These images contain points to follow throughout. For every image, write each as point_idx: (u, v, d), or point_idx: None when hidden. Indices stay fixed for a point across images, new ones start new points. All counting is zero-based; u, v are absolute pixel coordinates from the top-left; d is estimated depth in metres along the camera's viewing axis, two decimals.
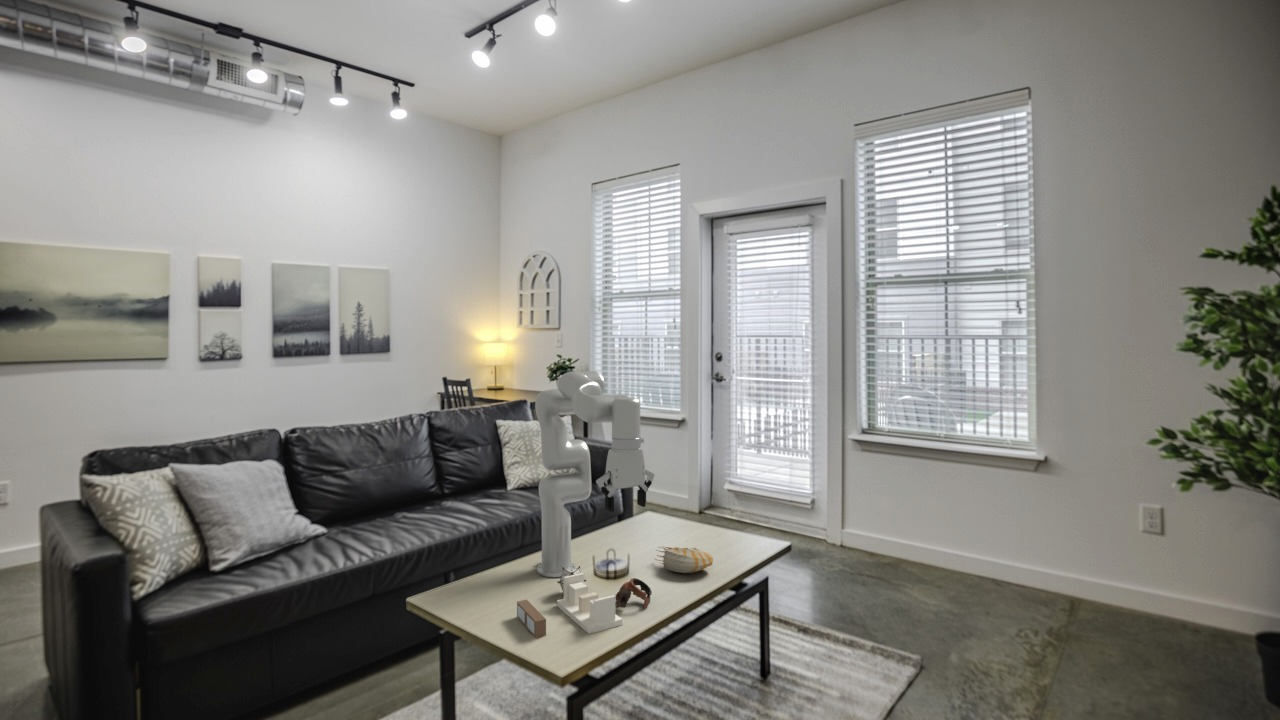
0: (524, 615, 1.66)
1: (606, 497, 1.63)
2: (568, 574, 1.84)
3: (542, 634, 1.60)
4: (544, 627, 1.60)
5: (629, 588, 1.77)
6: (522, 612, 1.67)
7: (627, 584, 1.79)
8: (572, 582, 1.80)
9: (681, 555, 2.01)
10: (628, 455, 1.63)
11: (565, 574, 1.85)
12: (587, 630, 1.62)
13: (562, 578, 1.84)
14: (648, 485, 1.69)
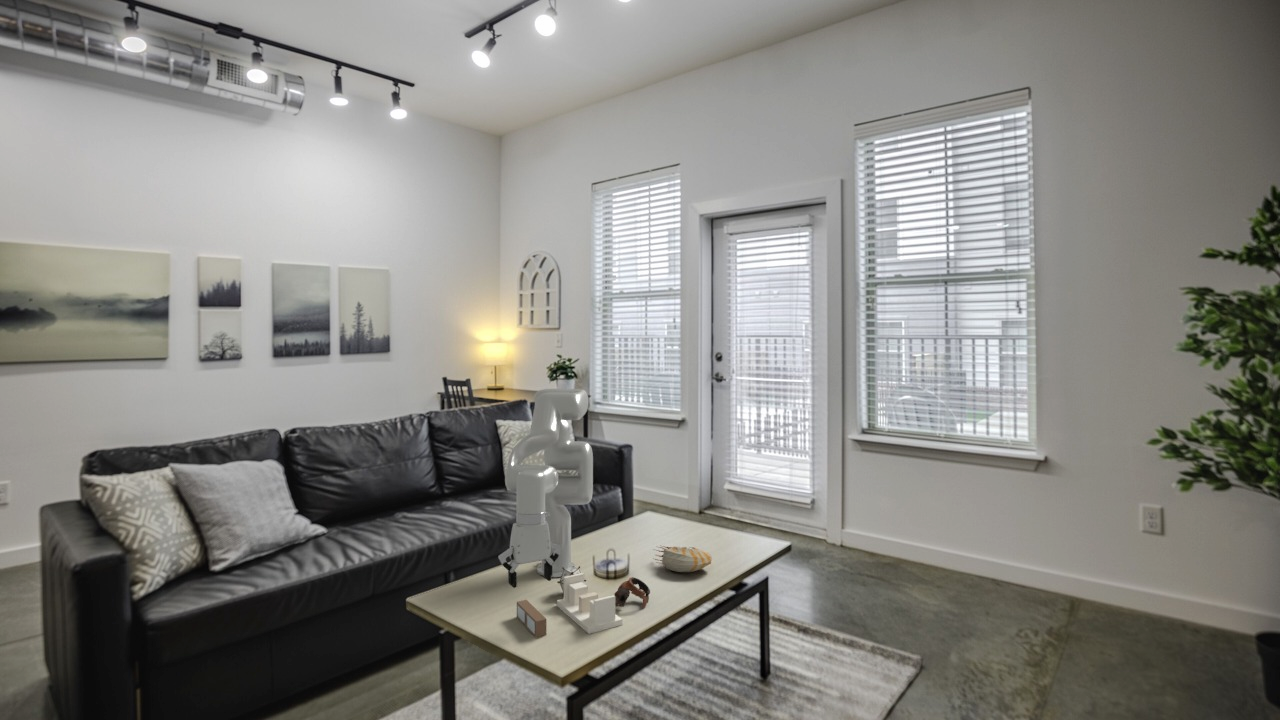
0: (524, 615, 1.66)
1: (509, 572, 1.62)
2: (568, 574, 1.84)
3: (542, 634, 1.60)
4: (544, 627, 1.61)
5: (628, 587, 1.77)
6: (522, 612, 1.67)
7: (626, 583, 1.79)
8: (572, 582, 1.80)
9: (680, 555, 2.01)
10: (531, 530, 1.62)
11: (565, 574, 1.85)
12: (587, 630, 1.62)
13: (562, 578, 1.84)
14: (554, 558, 1.68)
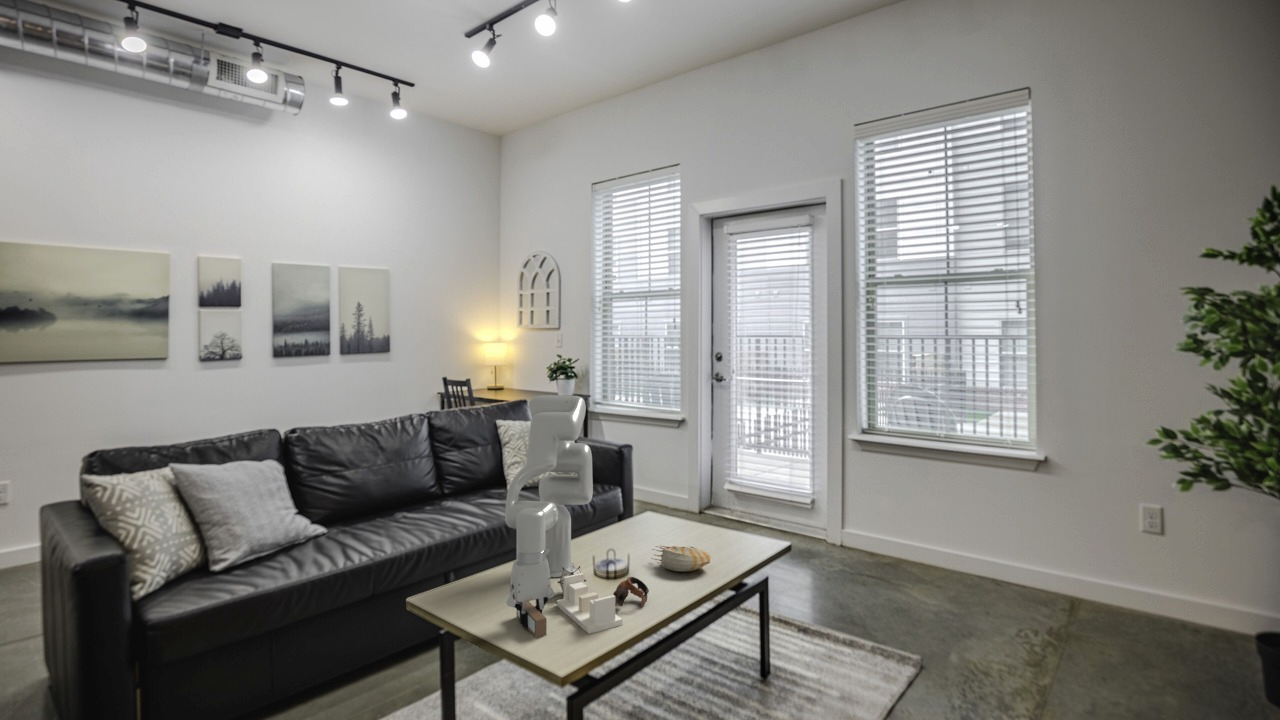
0: None
1: (520, 613, 1.64)
2: (568, 574, 1.84)
3: (542, 633, 1.60)
4: (544, 626, 1.60)
5: (626, 586, 1.78)
6: None
7: (624, 583, 1.80)
8: (572, 582, 1.80)
9: (679, 554, 2.02)
10: (532, 569, 1.63)
11: (565, 574, 1.85)
12: (587, 630, 1.62)
13: (562, 578, 1.84)
14: (544, 602, 1.67)
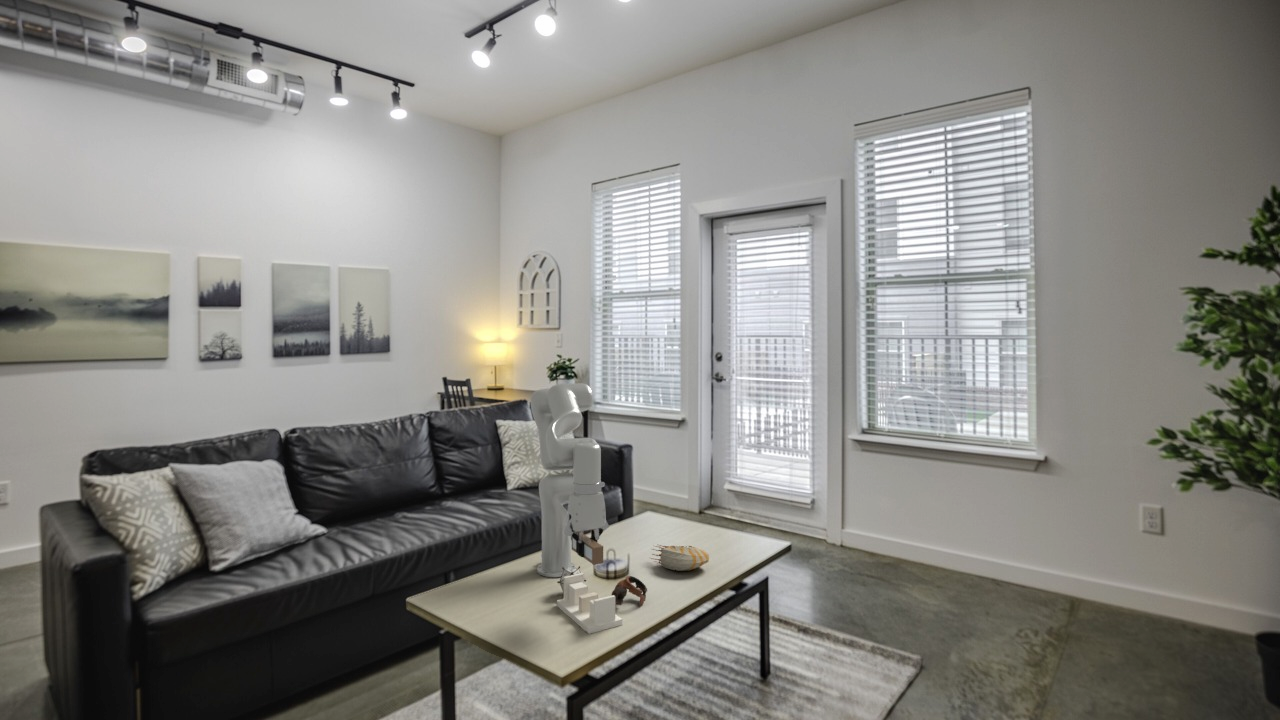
0: None
1: (577, 543, 1.70)
2: (568, 574, 1.84)
3: (600, 560, 1.66)
4: (601, 554, 1.66)
5: (625, 586, 1.79)
6: None
7: (623, 582, 1.80)
8: (572, 582, 1.80)
9: (678, 553, 2.03)
10: (588, 499, 1.69)
11: (565, 574, 1.85)
12: (587, 630, 1.62)
13: (562, 578, 1.84)
14: (599, 533, 1.73)
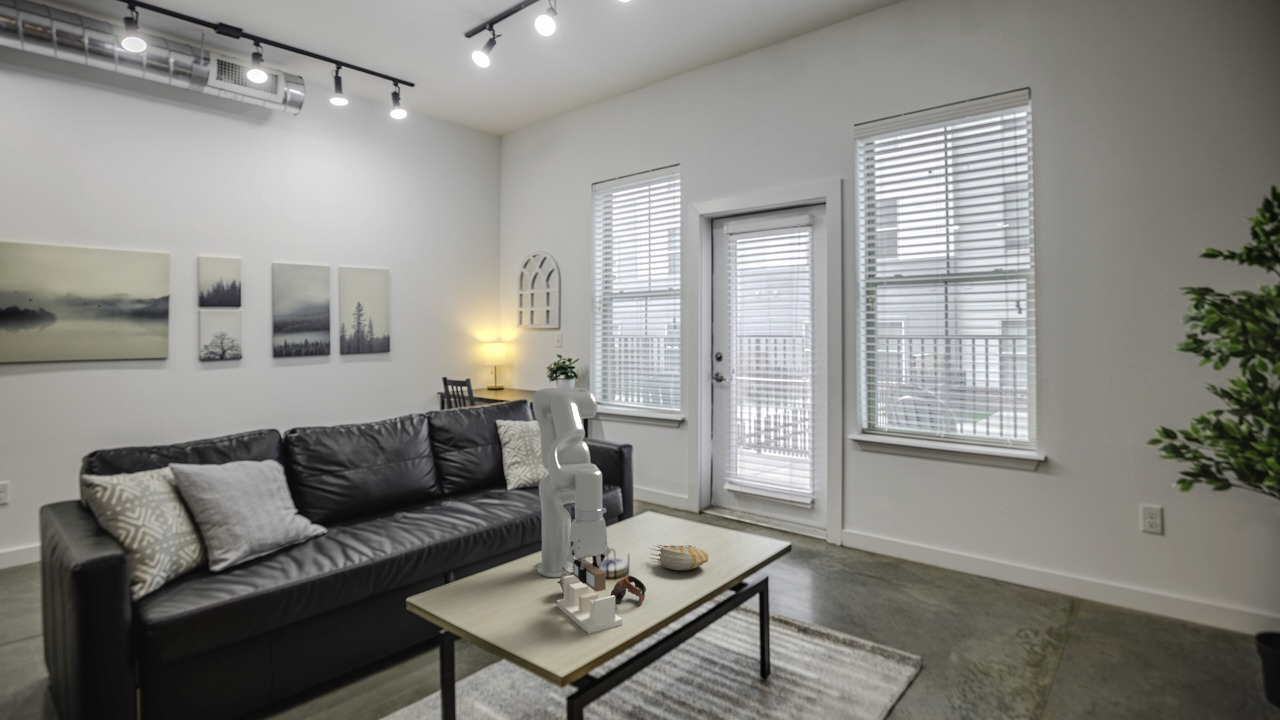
0: None
1: (579, 569, 1.71)
2: (568, 574, 1.84)
3: (602, 587, 1.66)
4: (604, 581, 1.67)
5: (624, 585, 1.79)
6: None
7: (622, 581, 1.81)
8: (572, 582, 1.80)
9: (678, 553, 2.03)
10: (590, 526, 1.69)
11: (565, 574, 1.85)
12: (587, 630, 1.62)
13: (562, 578, 1.84)
14: (601, 559, 1.73)
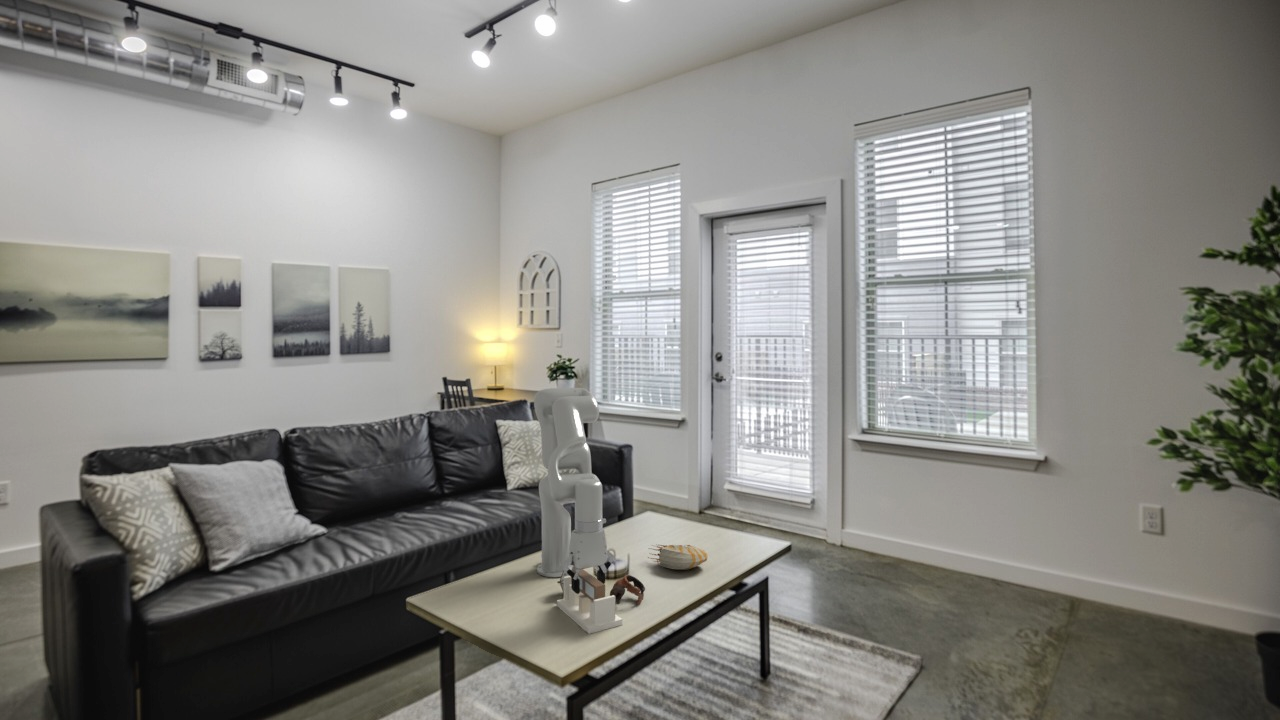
0: (582, 582, 1.73)
1: (572, 579, 1.70)
2: None
3: None
4: (603, 592, 1.67)
5: (623, 585, 1.79)
6: (579, 579, 1.74)
7: (621, 581, 1.81)
8: None
9: (678, 553, 2.03)
10: (590, 537, 1.69)
11: (565, 574, 1.85)
12: (587, 630, 1.62)
13: (562, 578, 1.84)
14: (607, 566, 1.75)
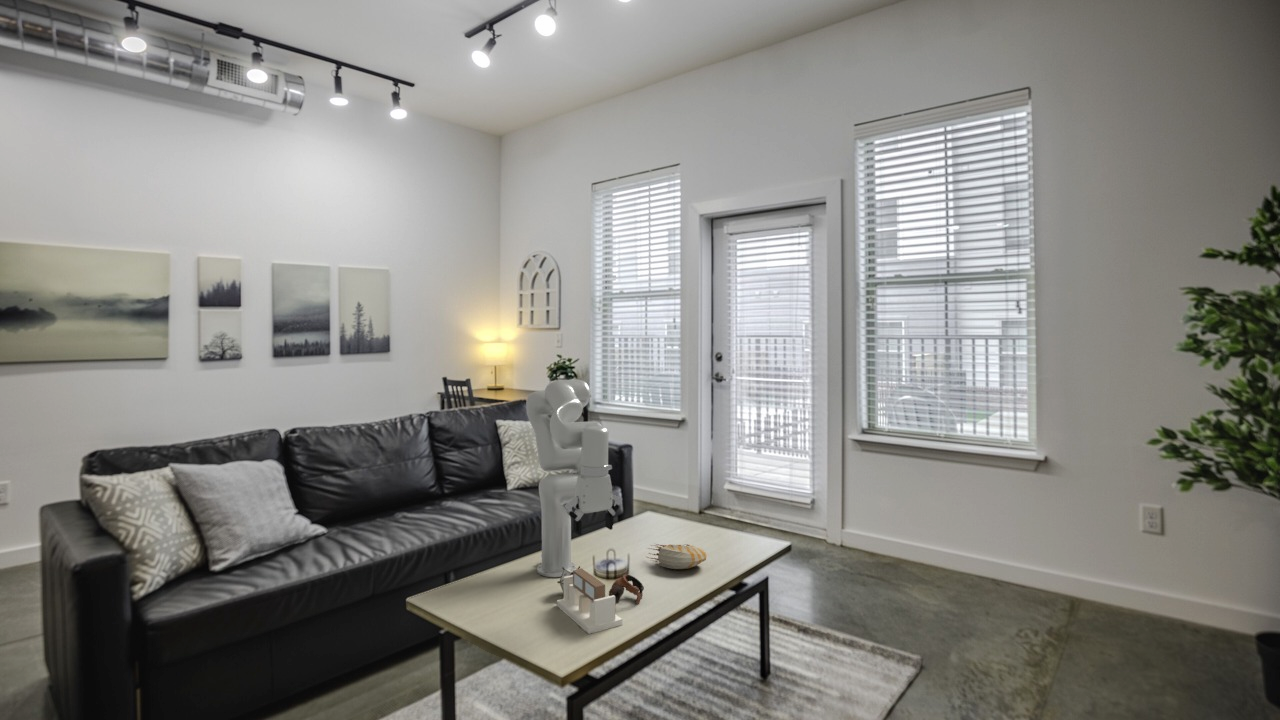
0: (582, 582, 1.73)
1: (574, 521, 1.72)
2: (568, 574, 1.84)
3: None
4: (603, 592, 1.67)
5: (622, 584, 1.80)
6: (579, 579, 1.74)
7: (620, 580, 1.81)
8: (572, 582, 1.80)
9: (677, 552, 2.04)
10: (595, 482, 1.72)
11: (565, 574, 1.85)
12: (587, 630, 1.62)
13: (562, 578, 1.84)
14: (615, 509, 1.78)
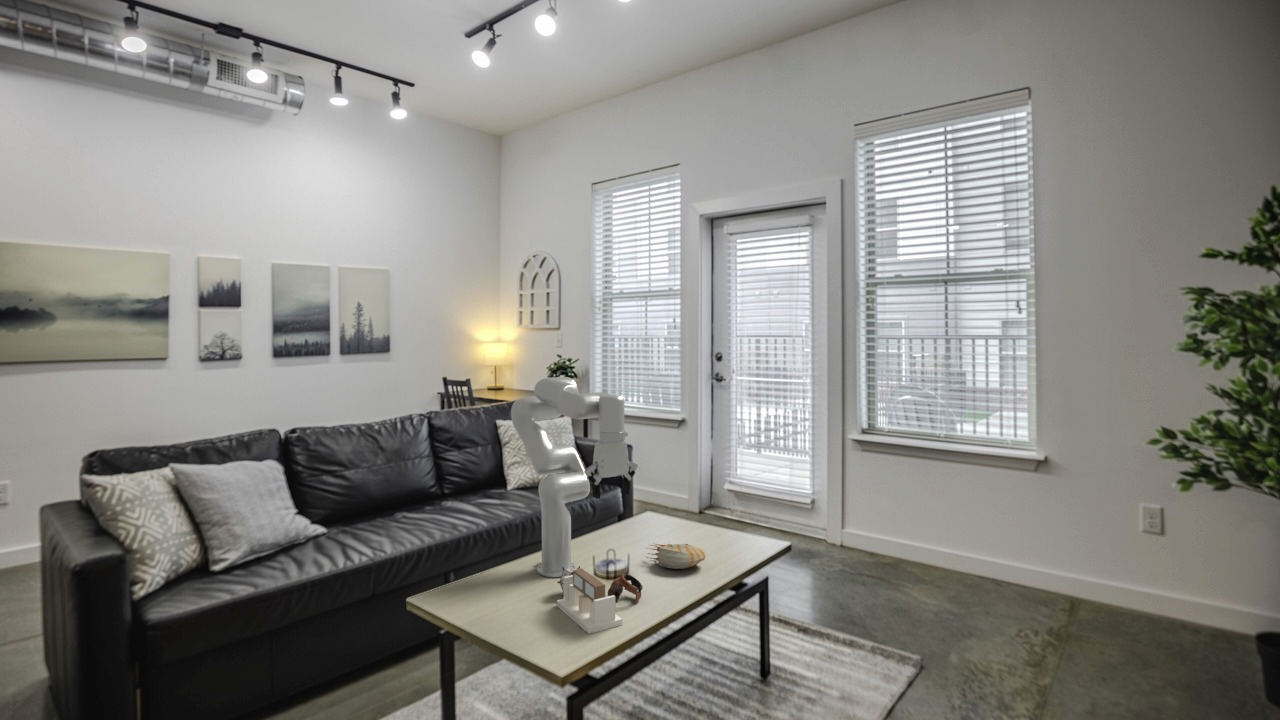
0: (582, 582, 1.73)
1: (593, 485, 1.80)
2: (568, 574, 1.84)
3: None
4: (603, 592, 1.67)
5: (621, 583, 1.80)
6: (579, 579, 1.74)
7: (618, 579, 1.82)
8: (572, 582, 1.80)
9: (676, 552, 2.04)
10: (613, 447, 1.80)
11: (565, 574, 1.85)
12: (587, 630, 1.62)
13: (562, 578, 1.84)
14: (632, 475, 1.86)
